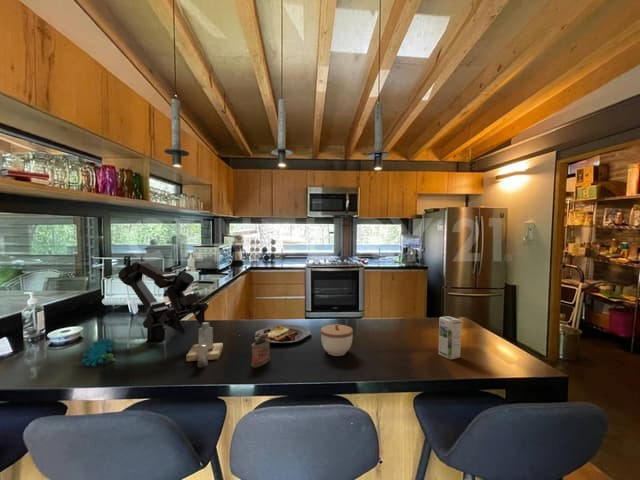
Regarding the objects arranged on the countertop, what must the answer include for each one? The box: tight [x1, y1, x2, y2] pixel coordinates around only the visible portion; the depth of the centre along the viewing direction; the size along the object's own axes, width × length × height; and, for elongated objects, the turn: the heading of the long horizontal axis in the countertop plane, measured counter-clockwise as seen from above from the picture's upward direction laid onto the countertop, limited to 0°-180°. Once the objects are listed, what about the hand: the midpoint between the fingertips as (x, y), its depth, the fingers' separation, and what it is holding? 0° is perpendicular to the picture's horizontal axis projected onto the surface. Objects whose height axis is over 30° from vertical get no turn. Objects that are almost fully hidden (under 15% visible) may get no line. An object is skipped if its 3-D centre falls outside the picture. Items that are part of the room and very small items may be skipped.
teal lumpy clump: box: [82, 338, 116, 367], centre depth 105 cm, size 11×6×10 cm
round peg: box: [197, 344, 209, 368], centre depth 102 cm, size 3×3×7 cm
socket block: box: [185, 342, 224, 362], centre depth 112 cm, size 11×11×2 cm
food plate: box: [254, 324, 312, 344], centre depth 132 cm, size 25×23×4 cm
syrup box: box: [438, 315, 462, 360], centre depth 112 cm, size 6×6×14 cm
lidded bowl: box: [320, 323, 354, 357], centre depth 114 cm, size 13×13×11 cm
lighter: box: [251, 333, 271, 368], centre depth 104 cm, size 8×3×10 cm, turn 148°
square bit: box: [198, 321, 214, 352], centre depth 112 cm, size 4×4×12 cm
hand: (194, 330), depth 115 cm, fingers open, 9 cm apart
